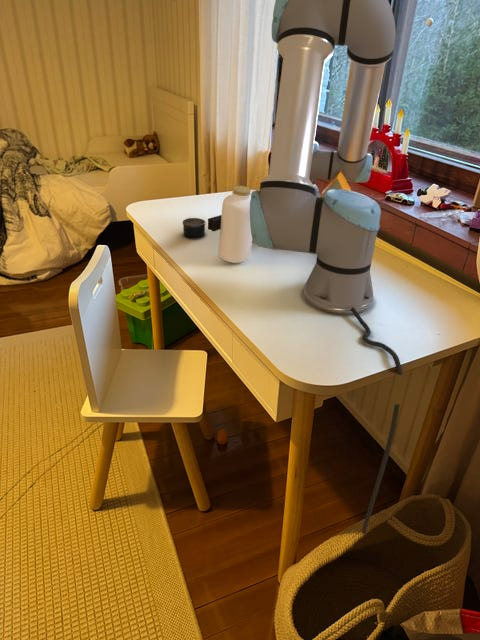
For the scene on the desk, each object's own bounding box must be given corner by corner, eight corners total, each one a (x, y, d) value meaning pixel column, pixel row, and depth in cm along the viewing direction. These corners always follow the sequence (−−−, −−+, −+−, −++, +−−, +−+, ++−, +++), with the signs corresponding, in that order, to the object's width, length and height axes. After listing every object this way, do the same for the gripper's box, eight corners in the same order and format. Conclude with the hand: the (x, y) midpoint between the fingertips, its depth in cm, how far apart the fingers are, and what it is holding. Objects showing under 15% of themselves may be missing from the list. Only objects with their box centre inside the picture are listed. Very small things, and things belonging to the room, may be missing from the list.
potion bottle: (239, 268, 118) (248, 199, 107) (211, 256, 121) (217, 188, 110) (255, 256, 124) (265, 189, 113) (228, 245, 127) (236, 179, 116)
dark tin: (205, 239, 134) (205, 225, 132) (182, 239, 133) (182, 225, 131) (205, 231, 139) (205, 217, 137) (183, 230, 139) (182, 217, 137)
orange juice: (312, 250, 130) (321, 176, 119) (317, 238, 137) (326, 167, 126) (340, 254, 128) (352, 179, 117) (344, 242, 135) (356, 171, 125)
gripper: (293, 225, 128) (229, 248, 114) (257, 212, 136) (193, 231, 122) (296, 198, 124) (229, 217, 110) (258, 186, 132) (192, 202, 118)
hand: (210, 225), depth 116 cm, fingers closed on potion bottle
